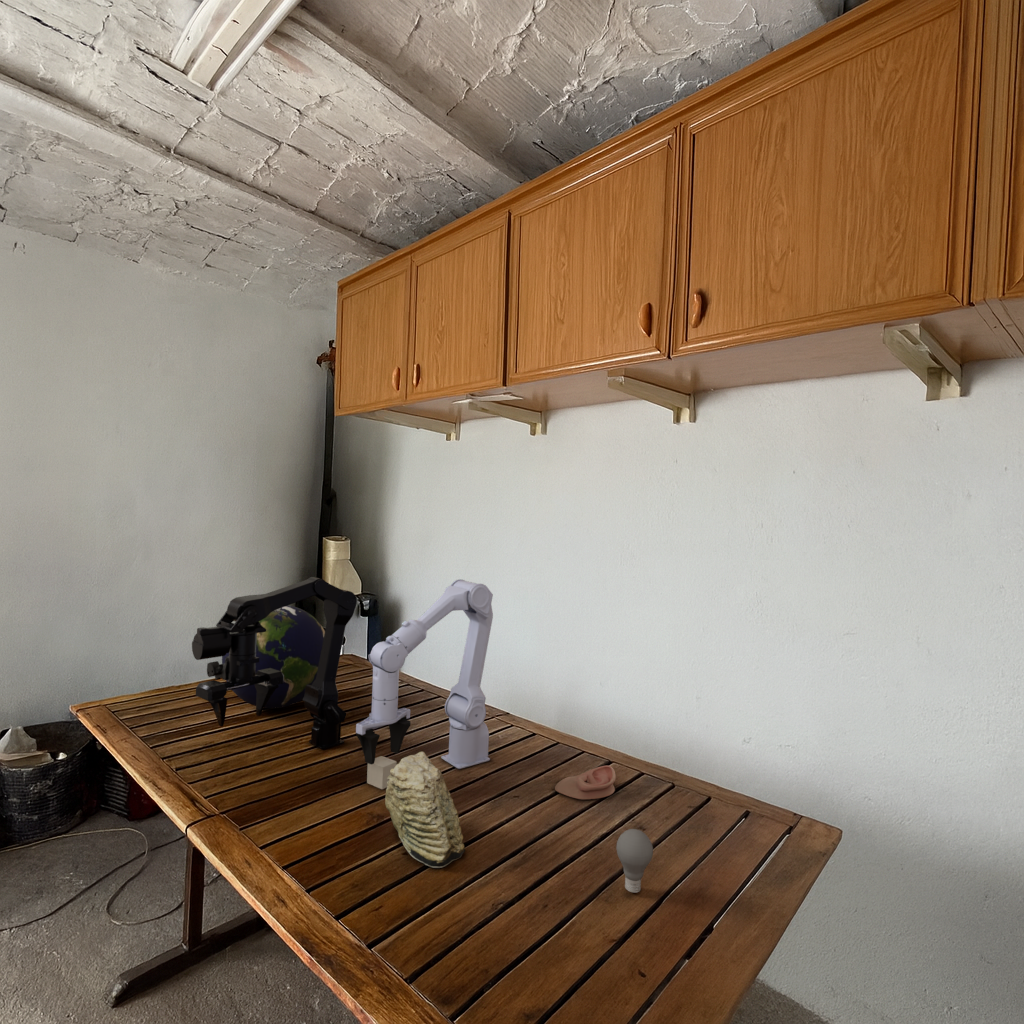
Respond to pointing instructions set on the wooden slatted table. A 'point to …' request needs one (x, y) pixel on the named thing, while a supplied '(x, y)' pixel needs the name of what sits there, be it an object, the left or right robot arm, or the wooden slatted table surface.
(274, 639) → the globe
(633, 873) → the light bulb
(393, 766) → the beige cube
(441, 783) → the fossil
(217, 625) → the left robot arm
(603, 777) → the anatomical model
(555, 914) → the wooden slatted table surface
